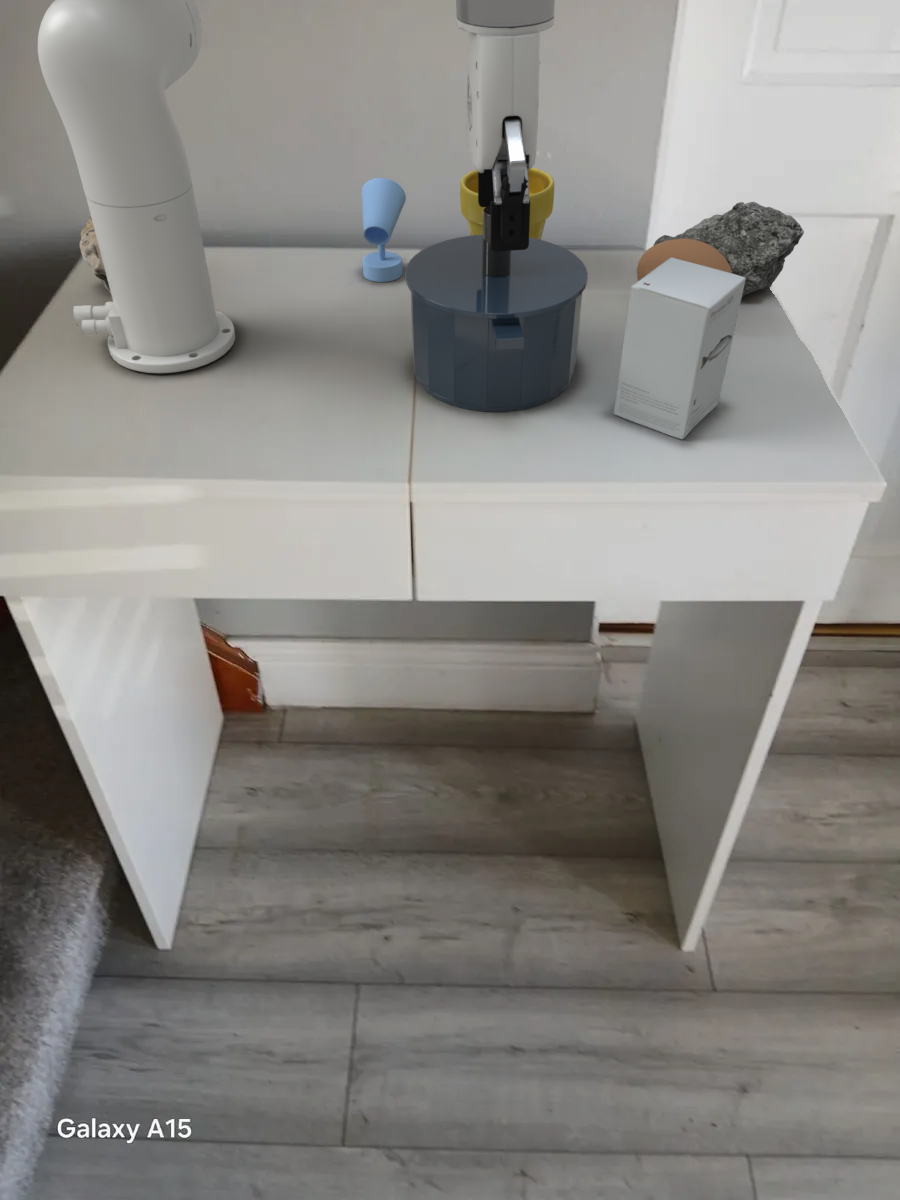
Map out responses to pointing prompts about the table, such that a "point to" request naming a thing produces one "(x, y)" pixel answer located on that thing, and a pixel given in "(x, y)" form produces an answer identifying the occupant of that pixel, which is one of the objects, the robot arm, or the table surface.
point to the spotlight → (381, 227)
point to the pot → (494, 356)
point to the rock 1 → (93, 252)
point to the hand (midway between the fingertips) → (502, 226)
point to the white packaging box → (677, 345)
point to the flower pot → (538, 195)
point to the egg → (681, 255)
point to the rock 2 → (749, 241)
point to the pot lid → (495, 277)
